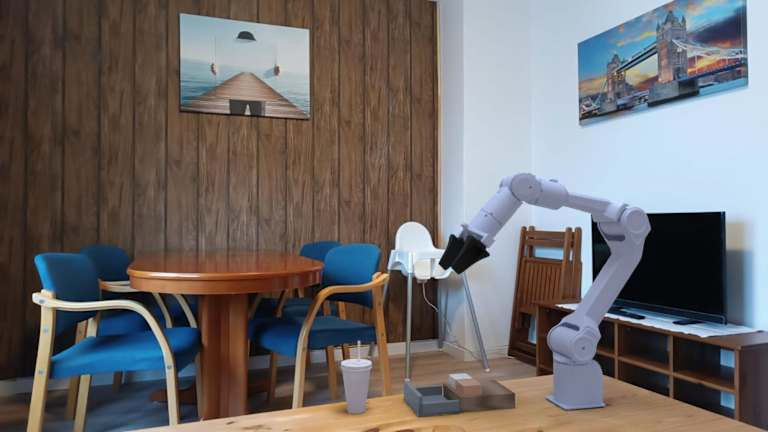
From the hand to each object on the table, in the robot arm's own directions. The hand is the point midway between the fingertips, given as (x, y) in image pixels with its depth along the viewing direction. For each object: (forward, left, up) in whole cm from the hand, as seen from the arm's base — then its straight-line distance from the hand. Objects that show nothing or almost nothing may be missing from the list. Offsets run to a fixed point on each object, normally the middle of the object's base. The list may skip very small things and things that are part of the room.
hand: (448, 269), depth 106 cm
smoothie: (+18, -5, -29) cm, 34 cm away
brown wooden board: (-8, -4, -29) cm, 30 cm away
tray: (+2, -4, -29) cm, 29 cm away
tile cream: (-5, -6, -26) cm, 27 cm away
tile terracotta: (-5, -2, -26) cm, 26 cm away
